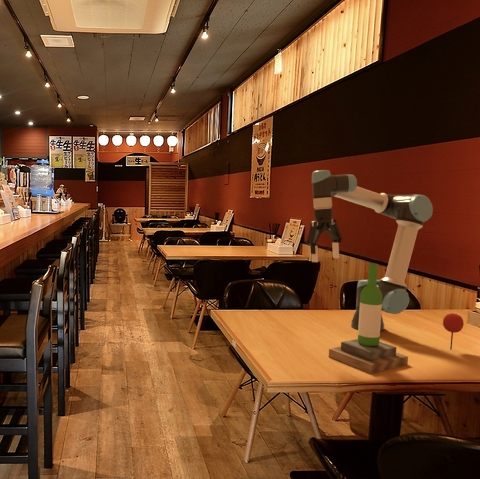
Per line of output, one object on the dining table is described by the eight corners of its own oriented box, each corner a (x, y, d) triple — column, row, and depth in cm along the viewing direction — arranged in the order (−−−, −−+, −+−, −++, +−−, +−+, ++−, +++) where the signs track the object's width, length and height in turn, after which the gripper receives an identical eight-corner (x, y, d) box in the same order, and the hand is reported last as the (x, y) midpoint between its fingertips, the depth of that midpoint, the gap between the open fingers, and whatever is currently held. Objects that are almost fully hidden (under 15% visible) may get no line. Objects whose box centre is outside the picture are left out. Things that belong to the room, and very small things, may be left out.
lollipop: (460, 353, 185) (463, 316, 184) (439, 350, 189) (442, 313, 188) (462, 349, 192) (464, 313, 191) (441, 345, 195) (444, 310, 194)
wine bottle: (367, 348, 166) (372, 265, 164) (353, 342, 173) (357, 262, 171) (383, 346, 170) (389, 264, 168) (368, 340, 177) (373, 262, 175)
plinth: (364, 349, 185) (365, 334, 185) (407, 364, 169) (408, 348, 169) (328, 356, 174) (329, 340, 174) (371, 373, 158) (372, 356, 157)
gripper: (334, 207, 201) (337, 256, 202) (295, 210, 185) (298, 263, 186) (348, 206, 195) (351, 256, 197) (309, 209, 179) (313, 264, 180)
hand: (325, 260), depth 191 cm, fingers open, 13 cm apart
